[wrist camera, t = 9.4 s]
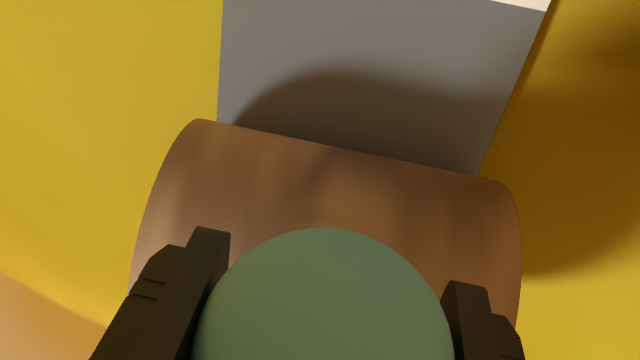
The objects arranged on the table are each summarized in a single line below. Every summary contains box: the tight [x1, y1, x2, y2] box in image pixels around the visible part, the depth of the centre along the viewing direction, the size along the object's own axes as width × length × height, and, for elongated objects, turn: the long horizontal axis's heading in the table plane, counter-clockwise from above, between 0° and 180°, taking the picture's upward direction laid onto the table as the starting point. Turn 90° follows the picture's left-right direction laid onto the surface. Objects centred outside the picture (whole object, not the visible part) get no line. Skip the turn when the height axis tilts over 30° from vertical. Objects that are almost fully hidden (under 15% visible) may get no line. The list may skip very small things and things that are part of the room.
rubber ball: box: [190, 228, 455, 360], centre depth 10 cm, size 5×5×5 cm
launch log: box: [127, 119, 522, 329], centre depth 17 cm, size 10×8×8 cm
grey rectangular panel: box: [217, 0, 551, 176], centre depth 17 cm, size 10×21×1 cm, turn 170°
